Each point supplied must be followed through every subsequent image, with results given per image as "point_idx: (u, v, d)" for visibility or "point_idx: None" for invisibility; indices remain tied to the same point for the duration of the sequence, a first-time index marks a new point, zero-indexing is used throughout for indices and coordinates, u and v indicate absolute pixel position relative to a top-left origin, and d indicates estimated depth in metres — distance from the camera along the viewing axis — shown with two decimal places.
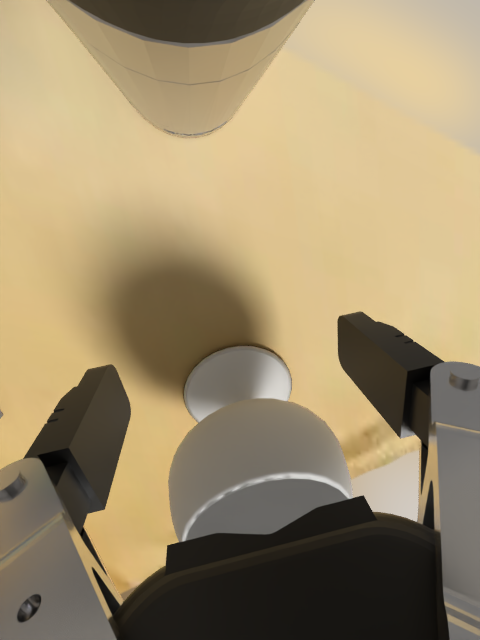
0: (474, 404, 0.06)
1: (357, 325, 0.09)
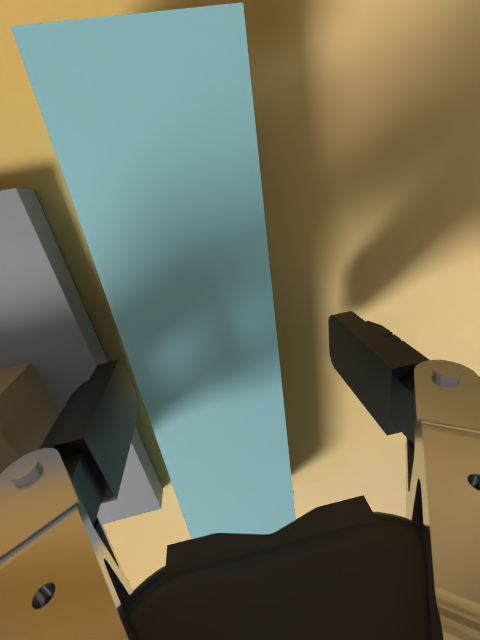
0: (454, 401, 0.06)
1: (346, 324, 0.09)
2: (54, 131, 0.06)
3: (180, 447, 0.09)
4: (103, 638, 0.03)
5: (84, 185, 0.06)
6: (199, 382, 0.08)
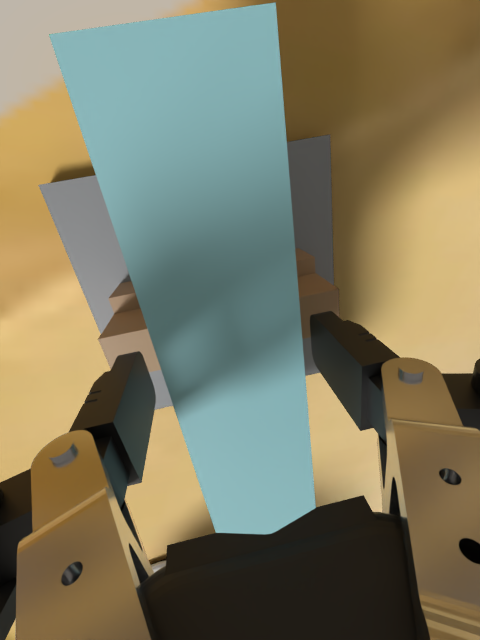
0: (414, 396, 0.06)
1: (324, 323, 0.10)
2: (89, 136, 0.06)
3: (206, 442, 0.09)
4: (124, 625, 0.03)
5: (117, 189, 0.06)
6: (225, 379, 0.08)
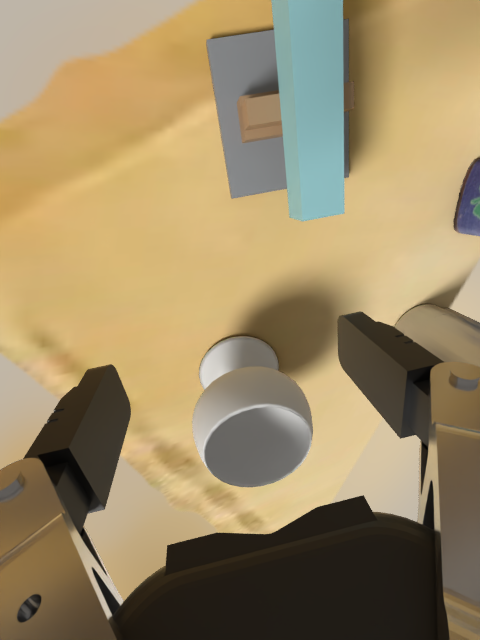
0: (474, 404, 0.06)
1: (357, 325, 0.09)
2: None
3: (303, 116, 0.23)
4: None
5: None
6: (314, 79, 0.22)
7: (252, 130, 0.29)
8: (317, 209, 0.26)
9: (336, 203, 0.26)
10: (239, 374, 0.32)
